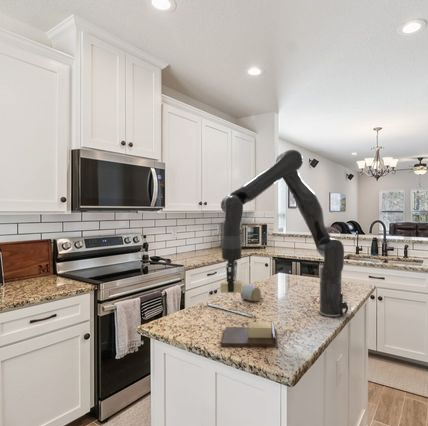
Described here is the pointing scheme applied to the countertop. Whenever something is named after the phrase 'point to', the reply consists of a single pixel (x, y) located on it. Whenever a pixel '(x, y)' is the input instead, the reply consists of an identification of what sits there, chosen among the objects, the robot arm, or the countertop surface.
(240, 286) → the pad
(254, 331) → the beige rectangular block
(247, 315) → the butter knife
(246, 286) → the ceramic mug
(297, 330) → the countertop surface
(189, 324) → the countertop surface
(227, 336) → the board
